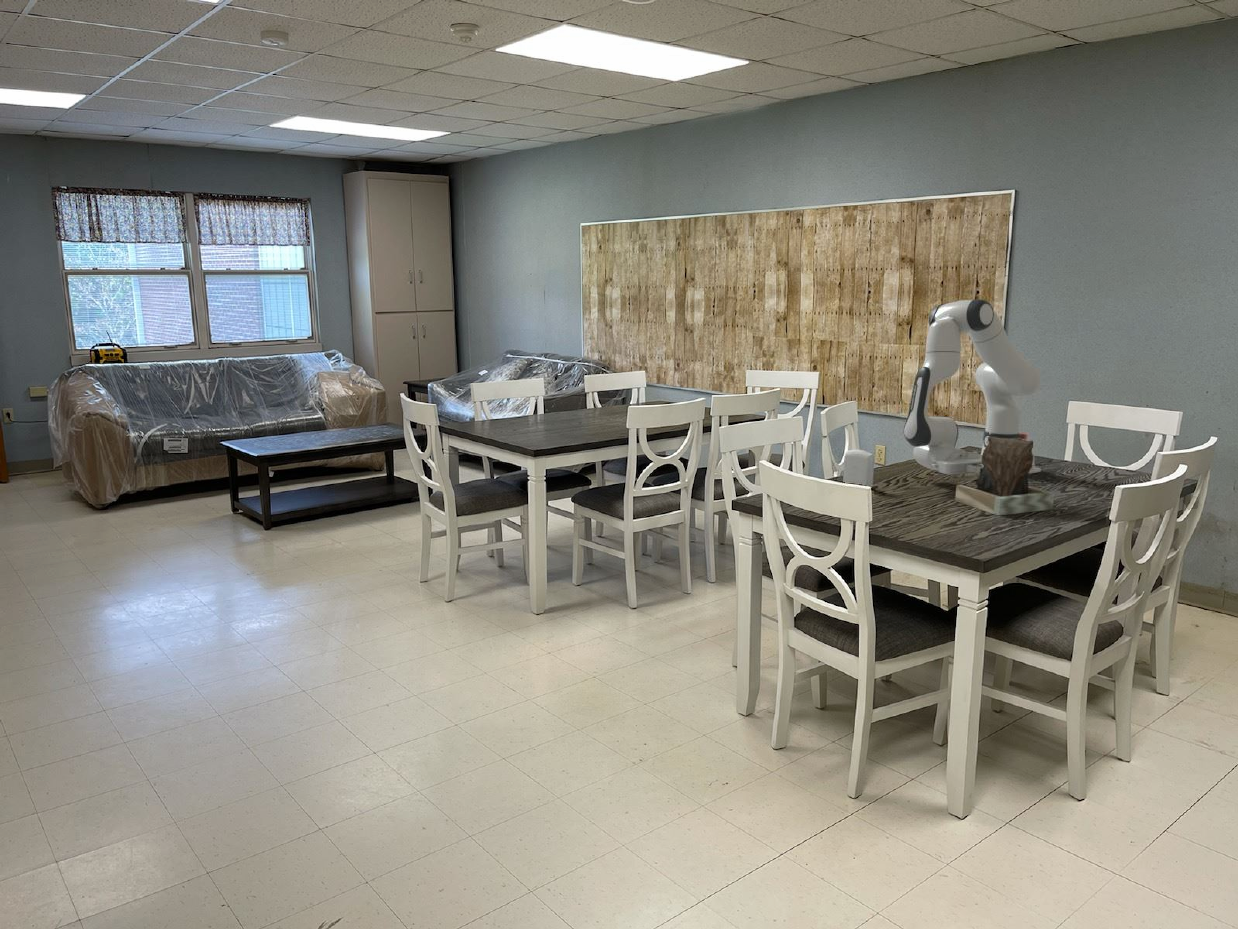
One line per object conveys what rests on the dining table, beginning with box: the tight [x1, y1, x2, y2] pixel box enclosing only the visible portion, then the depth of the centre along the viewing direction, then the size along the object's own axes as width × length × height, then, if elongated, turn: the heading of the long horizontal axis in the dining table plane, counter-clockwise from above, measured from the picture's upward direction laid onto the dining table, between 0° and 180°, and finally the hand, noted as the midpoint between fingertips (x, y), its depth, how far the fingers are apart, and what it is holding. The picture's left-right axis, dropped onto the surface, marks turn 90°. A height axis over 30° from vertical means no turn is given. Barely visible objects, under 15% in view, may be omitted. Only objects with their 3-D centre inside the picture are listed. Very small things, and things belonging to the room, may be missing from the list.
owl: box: [975, 437, 1034, 497], centre depth 276 cm, size 13×13×20 cm
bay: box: [954, 484, 1055, 516], centre depth 274 cm, size 21×18×5 cm
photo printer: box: [842, 449, 875, 488], centre depth 295 cm, size 10×4×12 cm, turn 39°
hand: (984, 470), depth 281 cm, fingers closed
